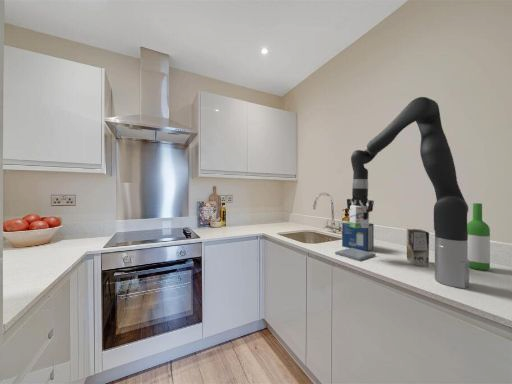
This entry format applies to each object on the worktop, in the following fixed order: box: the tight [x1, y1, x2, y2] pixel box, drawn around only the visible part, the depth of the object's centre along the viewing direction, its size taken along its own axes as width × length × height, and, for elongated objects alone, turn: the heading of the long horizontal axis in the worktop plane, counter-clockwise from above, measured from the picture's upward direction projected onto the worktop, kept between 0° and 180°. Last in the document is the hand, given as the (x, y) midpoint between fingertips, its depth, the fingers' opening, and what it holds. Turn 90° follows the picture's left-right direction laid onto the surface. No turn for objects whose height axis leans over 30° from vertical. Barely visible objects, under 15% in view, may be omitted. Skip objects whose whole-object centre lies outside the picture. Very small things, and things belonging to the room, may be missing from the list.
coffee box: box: [406, 228, 430, 267], centre depth 101 cm, size 9×6×16 cm
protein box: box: [341, 220, 375, 252], centre depth 129 cm, size 10×15×16 cm
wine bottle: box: [467, 202, 491, 271], centre depth 95 cm, size 8×8×30 cm
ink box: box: [349, 204, 370, 228], centre depth 111 cm, size 8×5×12 cm, turn 103°
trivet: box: [334, 248, 376, 262], centre depth 114 cm, size 14×16×1 cm
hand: (359, 218), depth 111 cm, fingers closed on ink box, 6 cm apart
